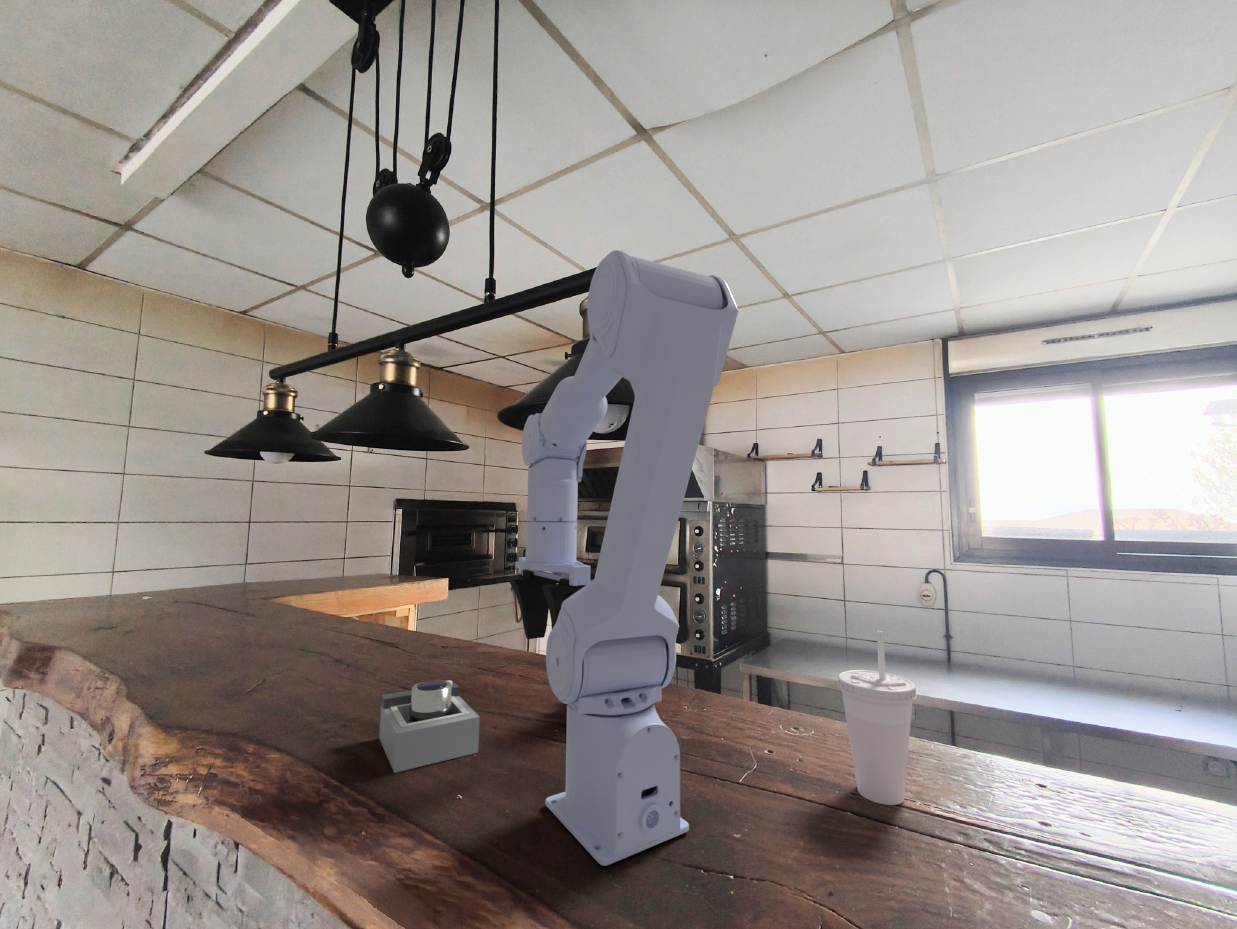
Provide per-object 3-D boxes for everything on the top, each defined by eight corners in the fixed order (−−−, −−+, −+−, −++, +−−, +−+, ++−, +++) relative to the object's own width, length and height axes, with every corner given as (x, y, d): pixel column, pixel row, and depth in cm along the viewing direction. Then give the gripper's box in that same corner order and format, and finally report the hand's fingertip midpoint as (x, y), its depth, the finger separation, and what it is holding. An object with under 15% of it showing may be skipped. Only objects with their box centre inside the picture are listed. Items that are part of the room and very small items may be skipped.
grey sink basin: (478, 752, 52) (480, 701, 53) (394, 772, 48) (397, 717, 49) (453, 722, 60) (455, 678, 60) (379, 738, 56) (381, 690, 56)
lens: (453, 749, 53) (455, 687, 54) (409, 757, 51) (413, 693, 52) (446, 734, 57) (449, 676, 58) (405, 741, 55) (409, 681, 56)
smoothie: (921, 823, 41) (912, 642, 42) (835, 799, 44) (829, 632, 46) (923, 787, 46) (915, 628, 48) (846, 769, 50) (841, 620, 51)
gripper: (496, 521, 62) (492, 636, 61) (547, 522, 50) (544, 665, 49) (548, 521, 66) (546, 629, 65) (608, 522, 54) (606, 655, 53)
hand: (549, 644), depth 57 cm, fingers open, 7 cm apart
